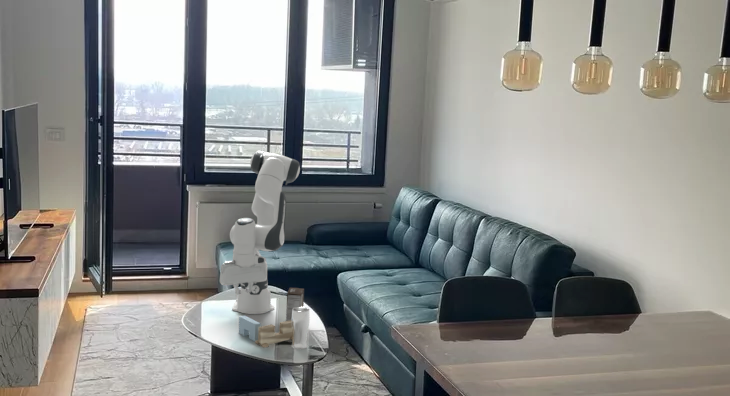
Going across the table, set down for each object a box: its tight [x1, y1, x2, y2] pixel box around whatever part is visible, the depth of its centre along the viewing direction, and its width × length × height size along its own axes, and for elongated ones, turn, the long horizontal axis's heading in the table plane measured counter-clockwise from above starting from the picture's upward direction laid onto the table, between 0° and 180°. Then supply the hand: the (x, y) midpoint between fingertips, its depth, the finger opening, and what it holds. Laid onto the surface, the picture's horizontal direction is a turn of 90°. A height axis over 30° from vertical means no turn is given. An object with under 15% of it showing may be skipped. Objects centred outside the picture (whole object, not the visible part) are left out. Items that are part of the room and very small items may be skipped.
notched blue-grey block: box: [238, 315, 262, 342], centre depth 276 cm, size 12×2×7 cm, turn 42°
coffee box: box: [285, 287, 305, 321], centre depth 289 cm, size 9×6×16 cm
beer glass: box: [291, 306, 311, 350], centre depth 267 cm, size 7×7×15 cm
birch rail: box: [254, 320, 293, 349], centre depth 272 cm, size 6×16×7 cm, turn 133°
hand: (243, 293), depth 277 cm, fingers open, 3 cm apart
